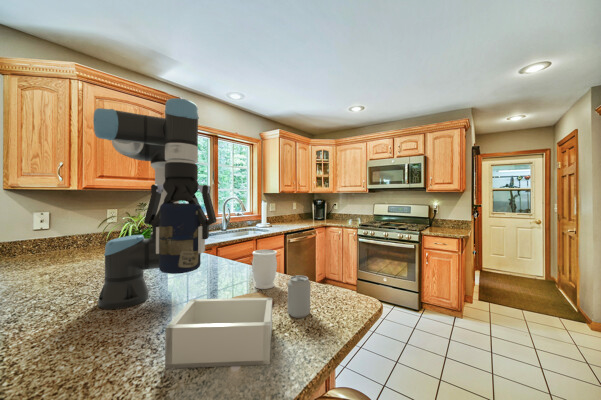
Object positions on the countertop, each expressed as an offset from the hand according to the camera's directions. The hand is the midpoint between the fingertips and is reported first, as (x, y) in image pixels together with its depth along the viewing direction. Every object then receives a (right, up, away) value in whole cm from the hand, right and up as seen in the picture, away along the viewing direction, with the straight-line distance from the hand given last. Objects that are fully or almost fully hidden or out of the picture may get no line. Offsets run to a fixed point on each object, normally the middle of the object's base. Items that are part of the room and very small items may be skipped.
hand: (180, 252), depth 63 cm
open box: (+11, -24, +2) cm, 27 cm away
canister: (0, -5, 0) cm, 5 cm away
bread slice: (+10, -25, +24) cm, 36 cm away
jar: (+14, -24, +46) cm, 54 cm away
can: (+29, -25, +20) cm, 43 cm away
